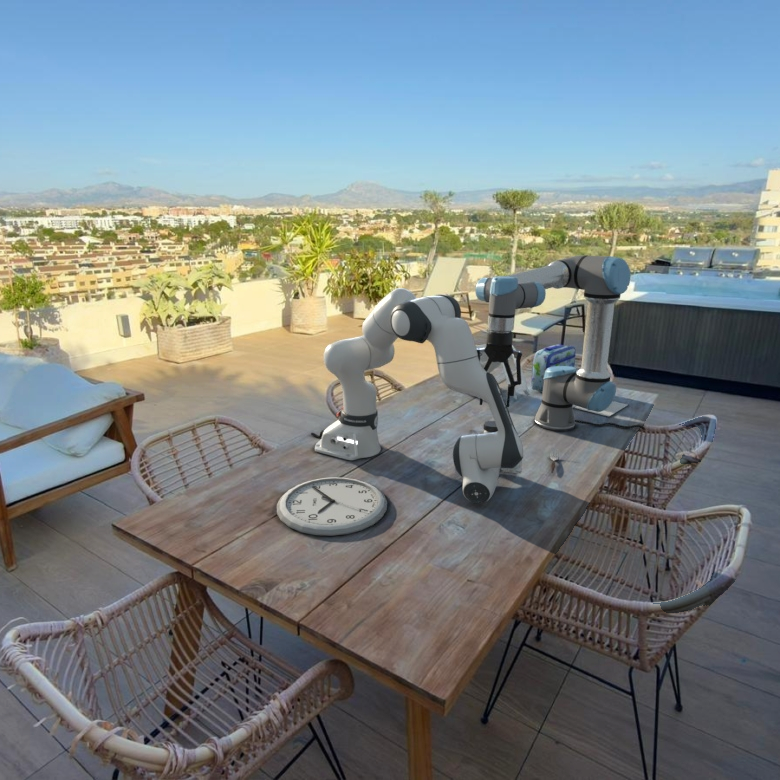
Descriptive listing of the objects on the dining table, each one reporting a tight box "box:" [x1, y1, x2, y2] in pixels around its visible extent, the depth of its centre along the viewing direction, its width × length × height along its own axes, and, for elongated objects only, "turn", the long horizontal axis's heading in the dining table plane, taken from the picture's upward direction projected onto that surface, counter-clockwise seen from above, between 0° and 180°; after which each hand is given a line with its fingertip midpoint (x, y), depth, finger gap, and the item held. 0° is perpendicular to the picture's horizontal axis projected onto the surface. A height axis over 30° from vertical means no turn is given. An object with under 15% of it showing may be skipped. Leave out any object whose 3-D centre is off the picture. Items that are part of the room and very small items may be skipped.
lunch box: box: [530, 344, 577, 392], centre depth 247 cm, size 26×11×21 cm, turn 134°
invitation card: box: [573, 400, 629, 418], centre depth 226 cm, size 21×1×15 cm
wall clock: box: [276, 476, 388, 537], centre depth 142 cm, size 30×2×30 cm
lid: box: [483, 420, 498, 432], centre depth 162 cm, size 5×5×2 cm
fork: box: [549, 449, 560, 474], centre depth 170 cm, size 3×16×2 cm, turn 160°
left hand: (490, 450), depth 165 cm, fingers open, 7 cm apart
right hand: (494, 404), depth 160 cm, fingers open, 7 cm apart
